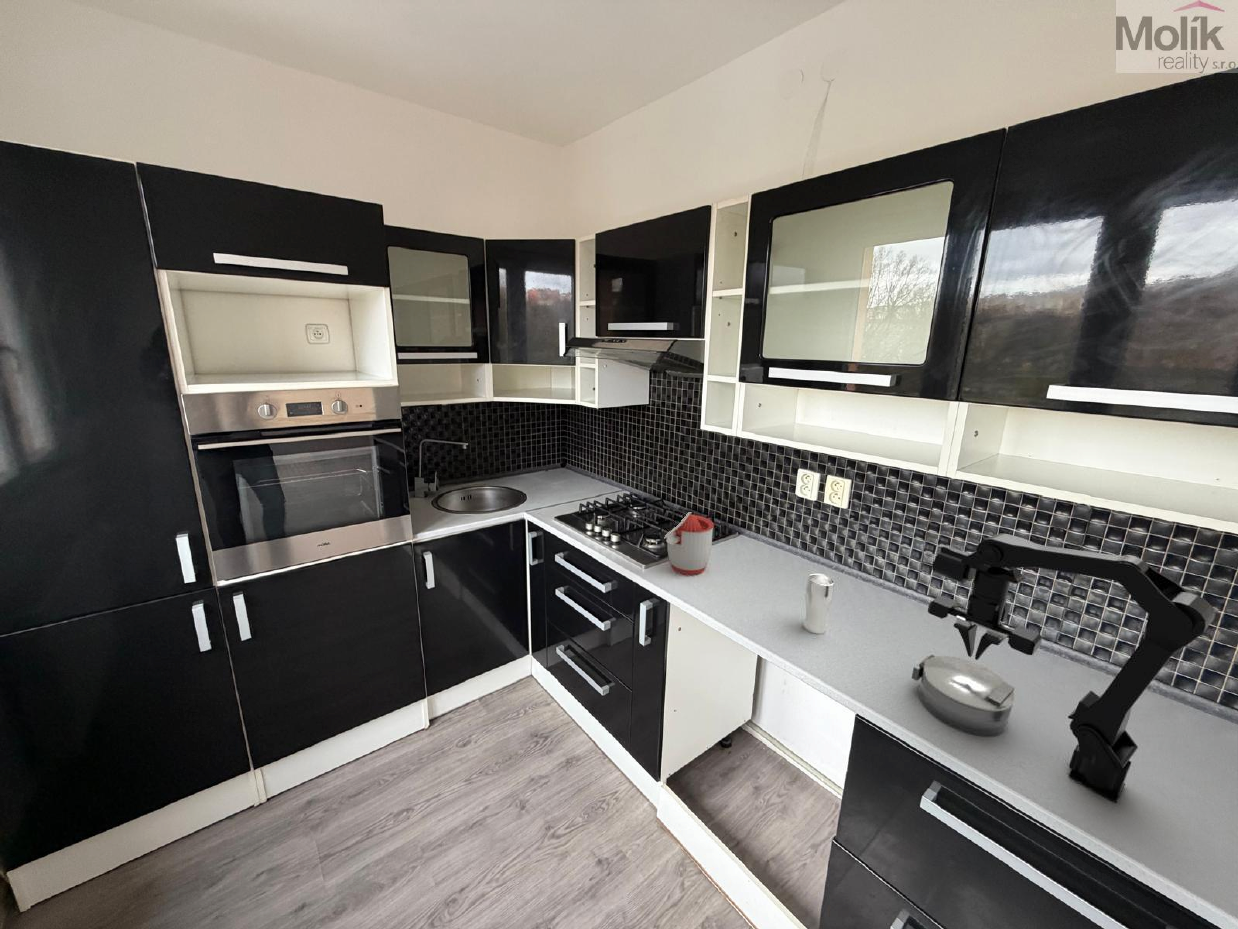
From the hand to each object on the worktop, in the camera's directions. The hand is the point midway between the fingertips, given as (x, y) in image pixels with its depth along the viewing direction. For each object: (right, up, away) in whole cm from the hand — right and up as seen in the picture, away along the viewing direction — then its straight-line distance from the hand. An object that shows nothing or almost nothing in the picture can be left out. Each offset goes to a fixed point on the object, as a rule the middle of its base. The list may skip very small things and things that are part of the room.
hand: (973, 657), depth 104 cm
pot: (-1, -12, +2) cm, 12 cm away
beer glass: (-22, -4, +31) cm, 38 cm away
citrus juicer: (-53, +5, +63) cm, 83 cm away
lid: (-1, -6, +1) cm, 6 cm away
